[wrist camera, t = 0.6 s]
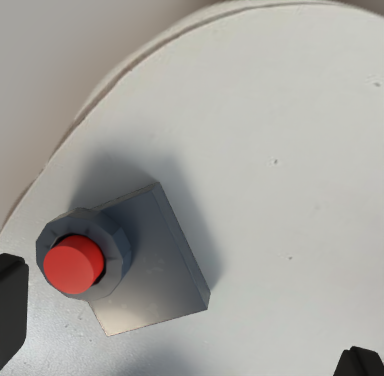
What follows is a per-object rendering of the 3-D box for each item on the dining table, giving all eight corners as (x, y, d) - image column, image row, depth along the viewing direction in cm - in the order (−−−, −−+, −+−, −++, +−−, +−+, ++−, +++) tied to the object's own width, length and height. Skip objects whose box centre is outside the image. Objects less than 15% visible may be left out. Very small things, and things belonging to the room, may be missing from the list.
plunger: (48, 243, 24) (33, 255, 22) (90, 228, 23) (77, 238, 21) (72, 286, 25) (59, 300, 23) (113, 272, 24) (102, 286, 22)
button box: (51, 214, 27) (19, 234, 24) (155, 172, 25) (137, 187, 21) (110, 321, 29) (89, 356, 26) (211, 293, 27) (204, 326, 23)
